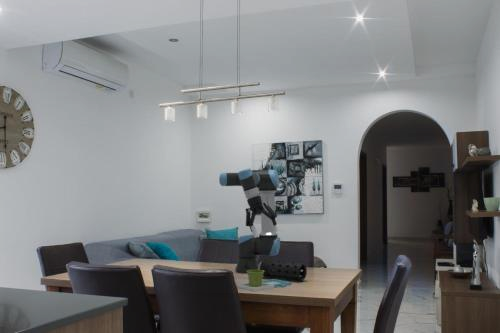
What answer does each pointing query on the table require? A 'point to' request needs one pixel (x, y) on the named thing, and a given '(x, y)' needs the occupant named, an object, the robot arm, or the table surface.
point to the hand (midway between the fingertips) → (266, 234)
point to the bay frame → (265, 285)
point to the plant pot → (255, 277)
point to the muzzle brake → (283, 270)
